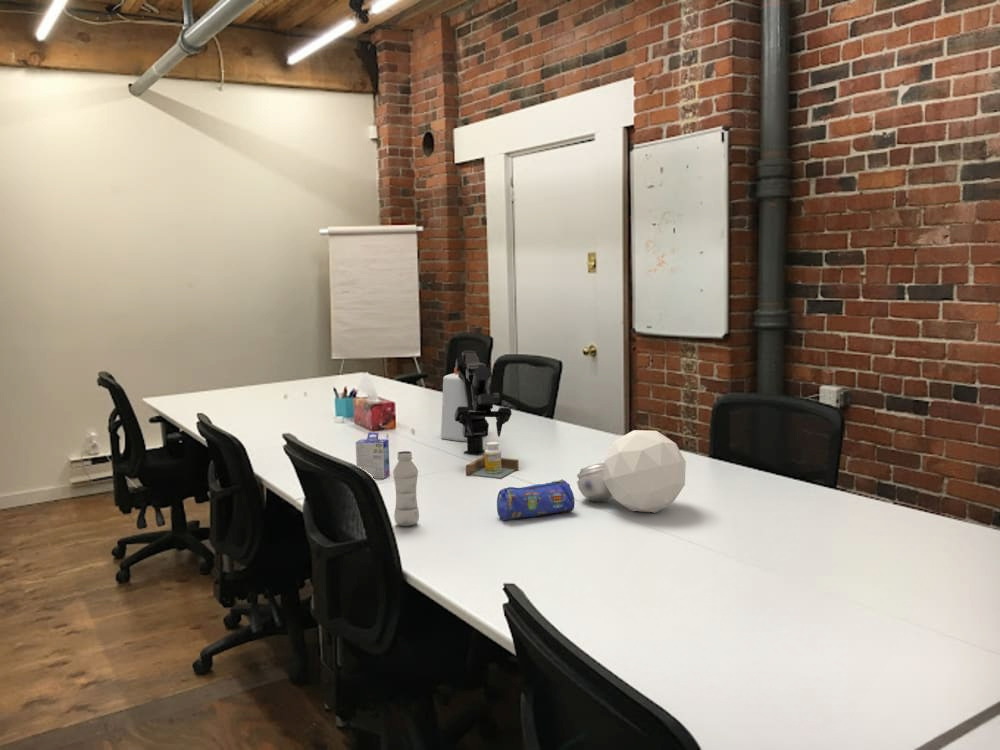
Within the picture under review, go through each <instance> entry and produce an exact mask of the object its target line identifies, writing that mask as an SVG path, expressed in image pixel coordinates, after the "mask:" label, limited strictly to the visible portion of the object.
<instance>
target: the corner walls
mask: <svg viewBox="0 0 1000 750" xmlns="http://www.w3.org/2000/svg"><path fill="white" fill-rule="evenodd" d="M484 467H485V455H484V456H482V457H480V458H477V459H476V460H475V459H474V461H472V462H470V463H468V464H466V465H465V476H467V477H472V476H471V474H472V473H474V472H476V471H478V470H480V469H482V468H484ZM501 468H507V469H515V471H514V472H517V471H519V468H520V467H519V459H513V458H503V457H501Z"/></svg>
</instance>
